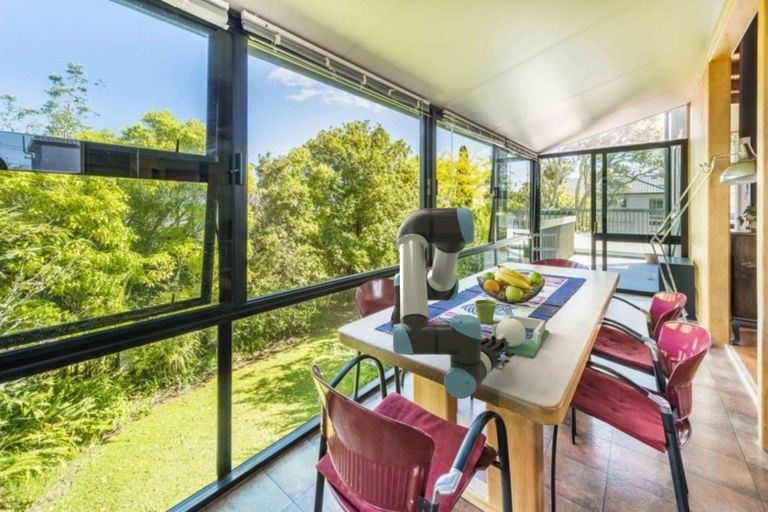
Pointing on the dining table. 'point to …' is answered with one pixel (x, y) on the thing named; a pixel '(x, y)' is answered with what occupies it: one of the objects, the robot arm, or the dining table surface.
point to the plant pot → (485, 310)
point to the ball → (512, 331)
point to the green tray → (528, 345)
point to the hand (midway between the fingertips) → (503, 336)
